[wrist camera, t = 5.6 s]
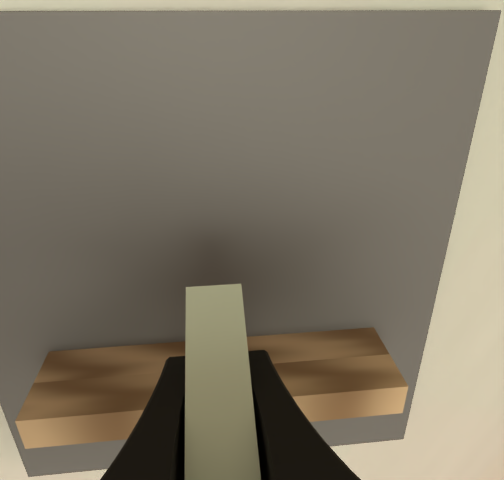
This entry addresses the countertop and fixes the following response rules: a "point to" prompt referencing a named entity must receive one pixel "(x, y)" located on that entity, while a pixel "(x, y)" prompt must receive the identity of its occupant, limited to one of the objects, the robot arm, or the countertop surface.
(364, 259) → the board
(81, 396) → the oak slotted plate
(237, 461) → the sage notched plate
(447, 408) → the countertop surface
